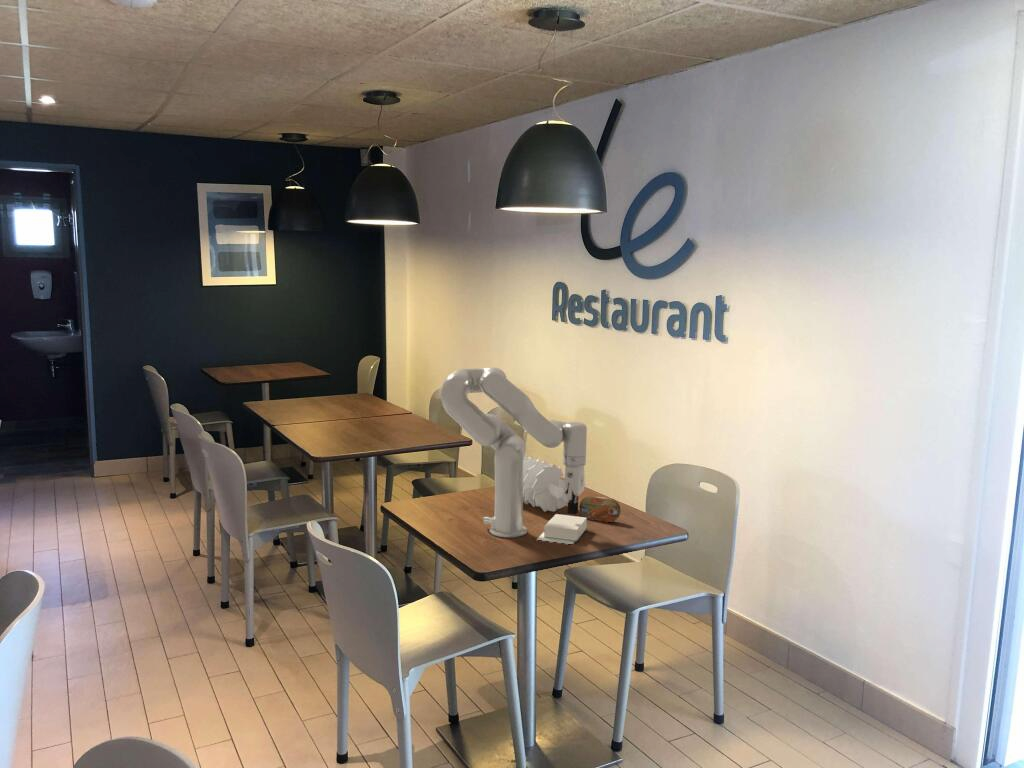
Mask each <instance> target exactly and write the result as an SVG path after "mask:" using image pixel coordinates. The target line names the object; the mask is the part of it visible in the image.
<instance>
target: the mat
mask: <svg viewBox="0 0 1024 768" xmlns="http://www.w3.org/2000/svg"><path fill="white" fill-rule="evenodd" d="M538 540H542V541H541V542H545V541H549V542H548V543H553V542H557V543H556V544H561V543H565V544H564V545H568V544H573V545H574V543H576V542H575V541H567V540H559V539H552V538H544V531H543V532H542V533H541V534H540V535H539V536H538V537H537V538H536V541H538Z"/></svg>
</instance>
